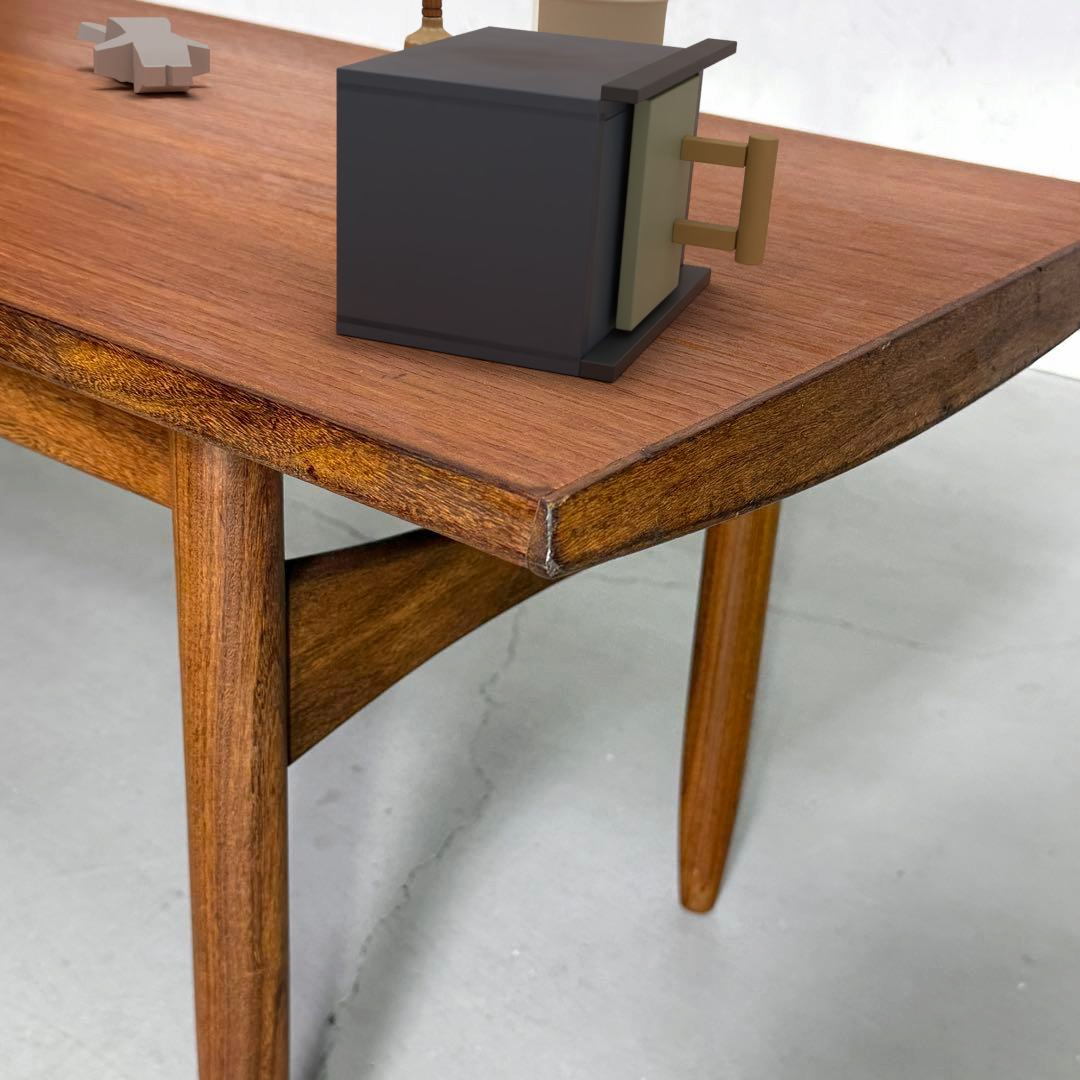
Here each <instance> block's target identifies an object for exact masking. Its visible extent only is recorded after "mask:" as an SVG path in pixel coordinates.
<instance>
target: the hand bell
mask: <svg viewBox="0 0 1080 1080" xmlns="http://www.w3.org/2000/svg"><path fill="white" fill-rule="evenodd" d="M421 7H422V8H421V15H422V17H421V26H420V27H419V28H418V29H417V30H415V31H414V32H412V33H410V34H407V36H406V37H405V38H404V43H403V50H404V49H408V48H412V47H415V46H419V45H423V44H426V43H430V42H434V41H437V40H441V39H445V38H448V37H452V36H453V35H452V34H451V33H449V32H448V31H447V30H446V29H445V27H444V19H443V8H442V7H443V0H421Z"/></svg>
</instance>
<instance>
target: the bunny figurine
mask: <svg viewBox="0 0 1080 1080" xmlns="http://www.w3.org/2000/svg"><path fill="white" fill-rule="evenodd" d="M75 38H76V39H78V40H81V41H86V42H90V43H94V44H96V45H93V46H92V54H93V74H95V75H96V76H101V77H106V78H111V79H115V80H117V81H118V82H121V83H132V84H133V91H134V94H155V93H158V94H159V93H160V94H161V93H188V92H189V91H190V88H191V86H193V82H194V81H193V80H194V79H193V78H195V77H199V76H203V75H205V74H209V73H211V49H210V47H209V45H208V44H206V43H202V42H200V41H197V40H193V39H191V38H187V37H184V36H181V35H178V34H177V33H174V32H172V24H171V21H170V20H169V19H168V18H167V17H164V16H143V17H142V16H137V17H136V16H133V17H132V16H131V17H130V16H129V17H127V16H123V17H117V16H113V17H111V16H110V17H107V18H106V25H104V24H101V23H100V24H99V23H97V22H96V23H95V22H90V21H82V22H80V24H79V27H78V30H77V32H76V35H75Z"/></svg>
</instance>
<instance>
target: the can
mask: <svg viewBox="0 0 1080 1080" xmlns="http://www.w3.org/2000/svg"><path fill="white" fill-rule="evenodd" d="M668 4H669V0H538V13H537V15H538V16H537V32H546V33H555V34H564V35H573V36H582V37H591V38H600V39H609V40H618V41H627V42H636V43H645V44H654V45H663V46H664V37H665V36H664V35H665V28H666V18H667V10H668Z"/></svg>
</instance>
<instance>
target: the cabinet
mask: <svg viewBox="0 0 1080 1080" xmlns="http://www.w3.org/2000/svg"><path fill="white" fill-rule="evenodd" d="M737 48H738V41H736V40H729V39H719V38H711V37H708V38H705V39H703V40H701V41H698V42H696V43H694V44H692V45H689V46H687V47H682V46H681V47H679V46H671V45H664V44H663V45H654V44H645V43H636V42H627V41H618V40H609V39H600V38H591V37H582V36H573V35H564V34H555V33H546V32H538V30H537V31H535V30H527V29H519V28H508V27H499V26H492V25H491V26H485V27H482V28H481V27H480V28H478V29H477V28H476V29H473V30H470V31H467V32H462V33H459V34H456V35H452V37H448V38H445V39H441V40H437V41H434V42H430V43H426V44H423V45H419V46H415V47H412V48H408V49H404V48H403V49H401V50H398V51H394V52H390V53H387V54H383V55H378V56H376V57H375V56H374V57H372V58H369V59H364V60H361V61H357V62H354V63H349V64H347V65H343V66H342V65H341V66H339V67H336V74H335V76H336V77H335V78H336V80H335V82H336V83H335V84H336V85H335V87H336V89H335V90H336V96H335V97H336V98H335V99H336V102H335V103H336V105H335V106H336V109H335V110H336V117H335V118H336V123H335V124H336V125H335V126H336V127H335V128H336V131H335V132H336V133H335V135H336V136H335V138H336V141H335V142H336V146H335V147H336V148H335V149H336V156H335V157H336V163H335V164H336V168H335V169H336V184H335V185H336V187H335V189H336V191H335V192H336V195H335V196H336V197H335V199H336V201H335V202H336V204H335V205H336V207H335V208H336V216H335V217H336V219H335V220H336V226H335V227H336V230H335V231H336V237H335V239H336V243H335V244H336V245H335V246H336V251H335V252H336V256H335V257H336V262H335V263H336V272H335V273H336V275H335V276H336V282H335V283H336V284H335V285H336V289H335V290H336V291H335V292H336V294H335V295H336V296H335V297H336V301H335V302H336V303H335V305H336V315H335V333H336V334H338V335H343V336H350V337H355V338H359V339H366V340H370V341H371V340H372V341H377V342H382V343H383V342H384V343H389V344H394V345H400V346H404V347H405V346H406V347H411V348H415V349H416V348H417V349H423V350H428V351H433V352H439V353H446V354H450V355H455V356H460V357H461V356H462V357H467V358H473V359H479V360H484V361H490V362H495V363H501V364H507V365H512V366H519V367H524V368H529V369H534V370H540V371H545V372H551V373H556V374H562V375H567V376H574V377H580V378H586V379H591V380H597V381H602V382H607V383H614V382H615V381H616V380H617V379H618V378H619V377H620V376H621V375H622V373H624V371H626V369H628V367H630V365H631V364H632V363H633V362H634V361H635V360H636V359H637V358H638V357H639V356H640V355H641V354H642V353H643V352H644V351H645V350H646V349H647V348H648V347H649V346H651V344H652V343H653V342H654V341H655V340H656V339H657V338H658V337H659V335H660V334H662V332H663V331H664V330H665V329H666V328H667V327H668V326H669V325H670V324H671V323H672V322H673V321H674V320H675V319H676V318H677V317H678V316H679V315H680V314H681V312H683V310H685V309H686V308H687V306H688V305H689V304H690V303H691V302H692V301H693V300H694V299H695V298H696V297H697V296H698V295H699V294H700V293H701V292H702V291H703V290H704V289H705V288H706V287H707V286H708V285H709V284H710V283H711V279H712V278H711V277H712V268H711V267H706V266H700V265H694V264H686V263H684V260H685V253H686V252H685V250H686V245H685V244H682V250H681V260H680V270H679V279H678V286H677V287H676V288H675V289H674V290H673V291H672V292H671V293H670V294H669V295H668V296H667V297H666V298H665V299H663V300H662V301H661V302H660V303H659V304H658V305H657V306H656V307H655V308H654V309H653V310H652V311H651V312H650V313H649V314H648V315H647V316H646V317H645V318H644V319H643V320H642V321H641V322H640V323H639V324H638V325H637V326H636V327H635V328H634V329H633V330H631V331H627V330H621V329H616V327H615V326H616V315H617V303H618V291H619V280H620V268H621V256H622V245H623V233H624V222H625V210H626V198H627V187H628V175H629V163H630V152H631V140H632V129H633V117H634V105H635V104H638V103H640V102H642V101H644V100H646V99H648V98H650V97H652V96H653V95H655V94H657V93H659V92H661V91H663V90H665V89H667V88H669V87H671V86H673V85H675V84H677V83H679V82H681V81H683V80H684V79H686V78H688V77H690V76H692V75H698V76H699V87H698V96H697V106H696V116H695V125H694V135H693V136H696V137H698V135H697V134H698V128H699V116H700V110H701V109H700V108H701V100H702V99H701V97H702V88H703V78H704V70H706V69H708V68H710V67H712V66H713V65H716V64H717V63H719V62H722V61H724V60H726V59H727V58H729V57H731V56H733V55H736V54H737ZM694 165H695V162H693V161H691V164H690V173H689V183H688V193H687V202H686V212H685V219H686V220H689V213H690V205H691V204H690V202H691V194H692V184H693V175H694Z"/></svg>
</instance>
